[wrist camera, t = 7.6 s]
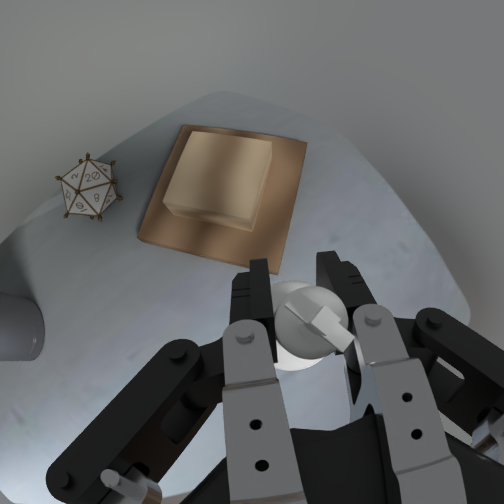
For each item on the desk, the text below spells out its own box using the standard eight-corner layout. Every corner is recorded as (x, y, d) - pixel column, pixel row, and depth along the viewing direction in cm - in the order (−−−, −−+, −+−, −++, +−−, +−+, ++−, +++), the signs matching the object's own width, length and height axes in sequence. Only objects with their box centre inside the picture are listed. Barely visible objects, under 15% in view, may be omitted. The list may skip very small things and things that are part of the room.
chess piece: (286, 263, 16) (304, 164, 6) (353, 318, 15) (463, 297, 5) (227, 330, 15) (154, 331, 6) (296, 387, 14) (332, 473, 4)
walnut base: (142, 241, 32) (122, 227, 27) (187, 131, 35) (176, 107, 31) (277, 275, 30) (278, 264, 25) (306, 149, 33) (309, 124, 28)
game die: (120, 198, 38) (122, 136, 31) (126, 236, 33) (126, 165, 26) (64, 205, 34) (57, 142, 27) (60, 245, 29) (46, 174, 22)
